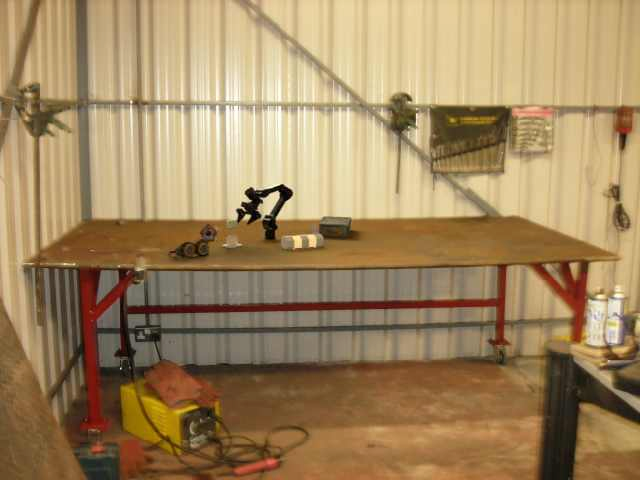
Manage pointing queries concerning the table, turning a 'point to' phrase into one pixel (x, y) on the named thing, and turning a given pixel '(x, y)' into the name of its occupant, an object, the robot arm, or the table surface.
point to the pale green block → (231, 223)
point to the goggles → (192, 249)
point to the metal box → (334, 227)
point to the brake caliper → (208, 233)
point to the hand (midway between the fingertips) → (242, 223)
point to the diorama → (302, 240)
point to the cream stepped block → (232, 242)
